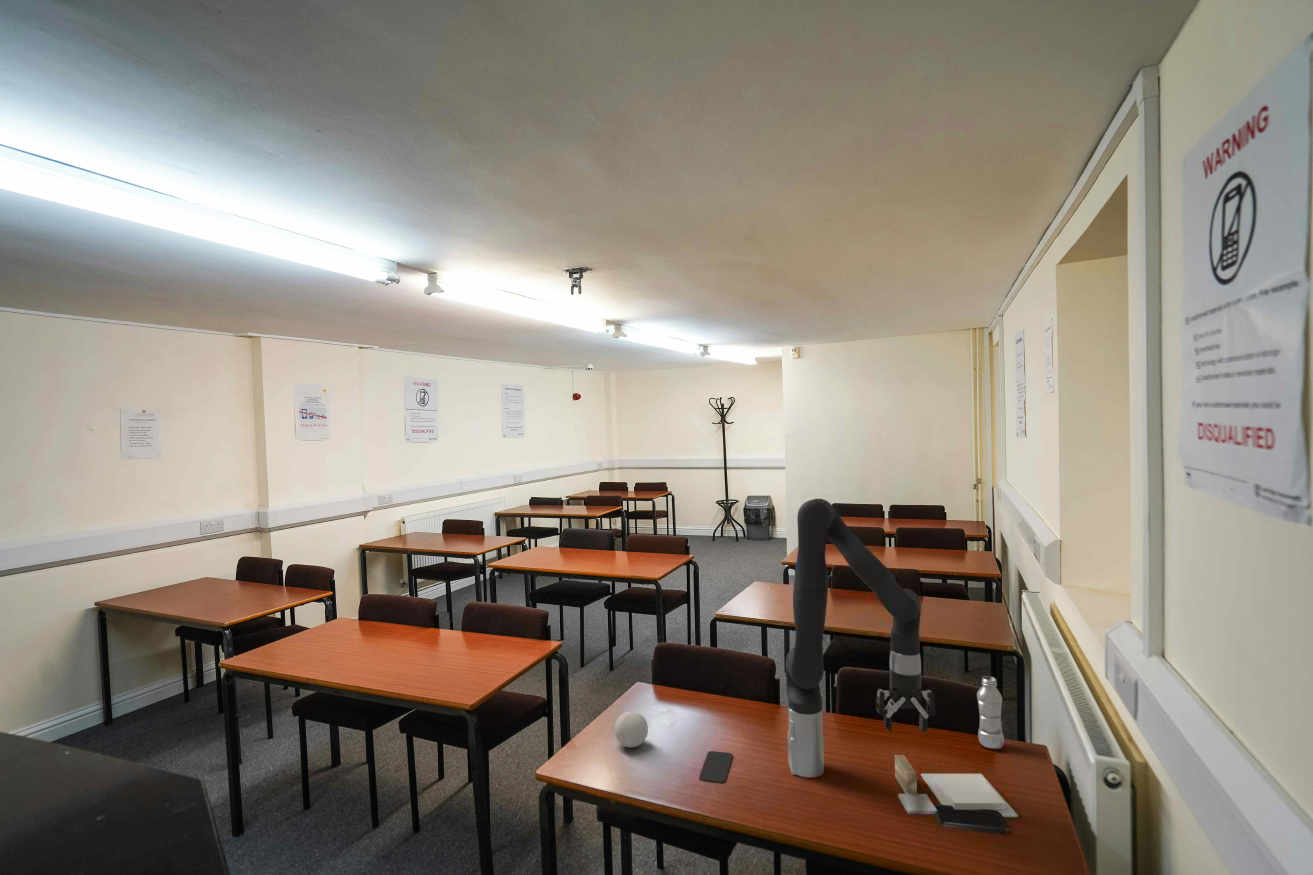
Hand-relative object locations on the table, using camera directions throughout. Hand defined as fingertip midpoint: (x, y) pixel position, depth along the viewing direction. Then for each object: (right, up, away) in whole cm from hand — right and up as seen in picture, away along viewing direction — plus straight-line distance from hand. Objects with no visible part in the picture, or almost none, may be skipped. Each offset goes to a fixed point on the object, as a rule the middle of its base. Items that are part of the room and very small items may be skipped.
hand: (905, 730), depth 157 cm
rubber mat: (+14, -15, -3) cm, 21 cm away
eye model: (-72, -18, +27) cm, 79 cm away
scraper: (+1, -16, -2) cm, 16 cm away
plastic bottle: (+34, -15, +21) cm, 42 cm away
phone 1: (-48, -17, +13) cm, 53 cm away
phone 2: (+10, -16, -12) cm, 23 cm away
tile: (+15, -14, +2) cm, 20 cm away
